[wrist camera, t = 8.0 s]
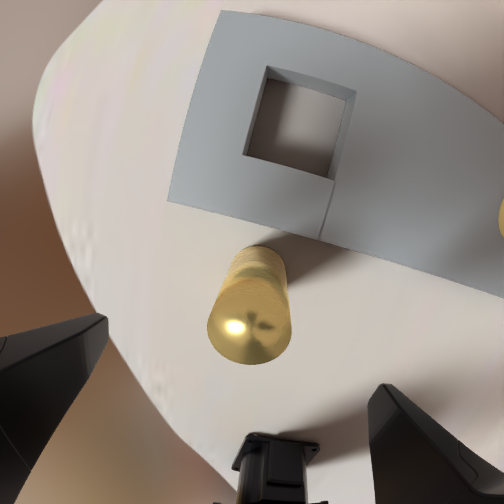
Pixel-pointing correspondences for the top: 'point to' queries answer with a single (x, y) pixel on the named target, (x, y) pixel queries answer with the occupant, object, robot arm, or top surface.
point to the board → (349, 152)
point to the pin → (252, 309)
